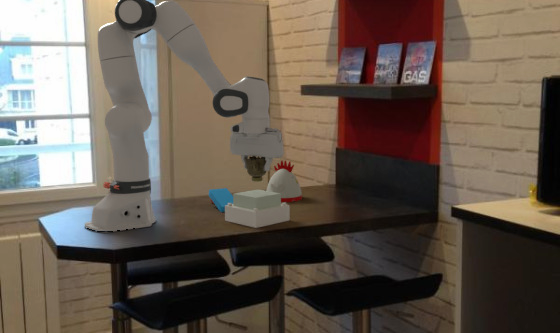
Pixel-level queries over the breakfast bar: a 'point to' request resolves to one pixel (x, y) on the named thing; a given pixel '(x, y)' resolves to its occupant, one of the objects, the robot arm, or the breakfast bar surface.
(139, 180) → the robot arm
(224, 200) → the blue long block
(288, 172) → the kitchen timer
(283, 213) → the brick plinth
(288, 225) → the breakfast bar surface
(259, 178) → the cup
